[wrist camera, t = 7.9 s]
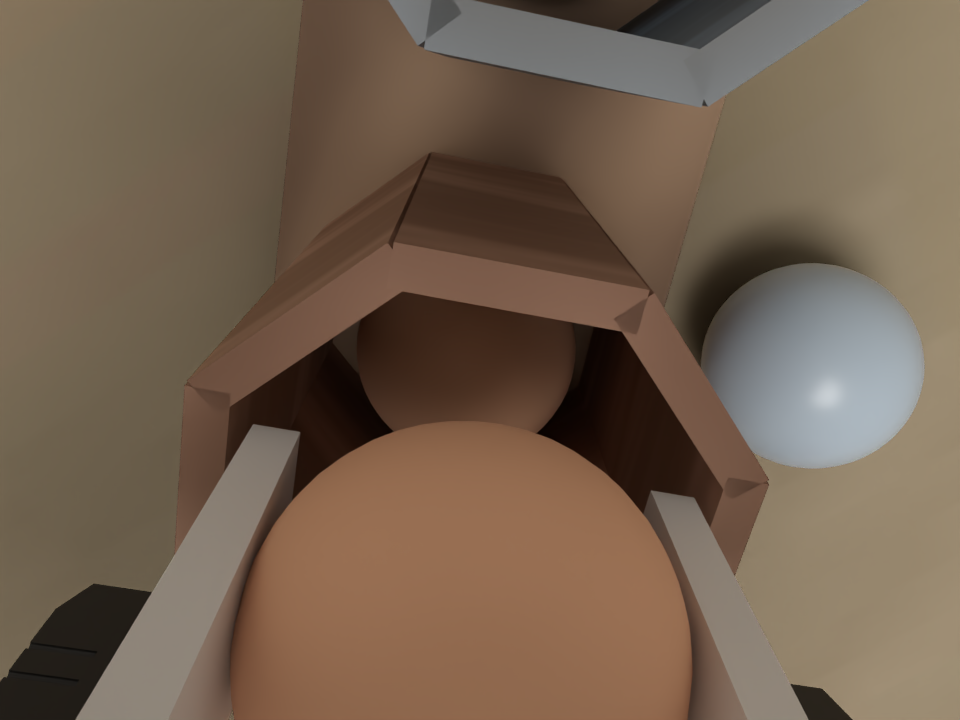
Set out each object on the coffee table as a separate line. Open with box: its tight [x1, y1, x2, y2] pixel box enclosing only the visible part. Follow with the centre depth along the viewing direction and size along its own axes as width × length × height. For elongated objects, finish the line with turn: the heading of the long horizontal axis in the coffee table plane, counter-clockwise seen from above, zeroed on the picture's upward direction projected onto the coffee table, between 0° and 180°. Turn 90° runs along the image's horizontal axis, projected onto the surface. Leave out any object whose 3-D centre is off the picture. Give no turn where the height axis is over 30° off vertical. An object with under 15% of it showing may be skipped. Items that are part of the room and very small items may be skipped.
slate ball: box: [701, 263, 925, 468], centre depth 23 cm, size 6×6×6 cm
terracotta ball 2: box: [230, 421, 693, 720], centre depth 10 cm, size 6×6×6 cm
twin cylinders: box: [174, 0, 868, 576], centre depth 18 cm, size 12×30×13 cm, turn 169°
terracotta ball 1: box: [356, 291, 576, 433], centre depth 21 cm, size 6×6×6 cm
